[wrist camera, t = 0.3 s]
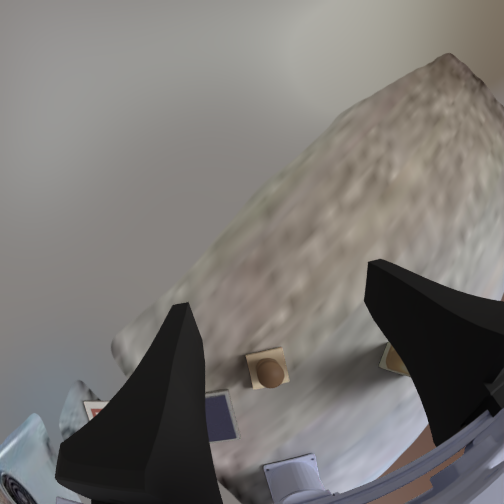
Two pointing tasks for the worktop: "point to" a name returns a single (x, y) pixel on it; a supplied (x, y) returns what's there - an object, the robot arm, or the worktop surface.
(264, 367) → the stamp
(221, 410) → the ink pad
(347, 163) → the worktop surface
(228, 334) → the worktop surface
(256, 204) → the worktop surface
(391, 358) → the skincare box
